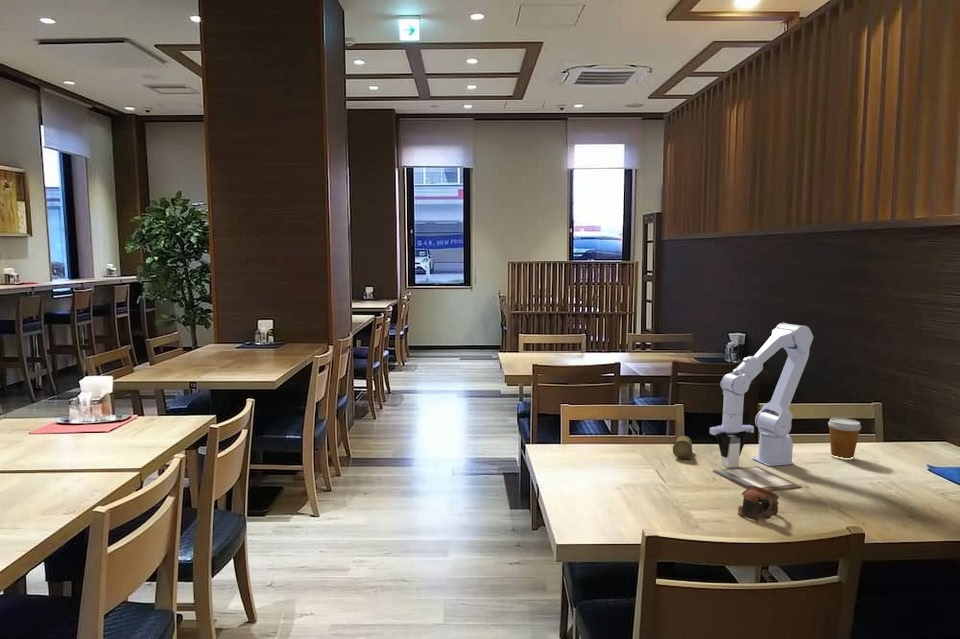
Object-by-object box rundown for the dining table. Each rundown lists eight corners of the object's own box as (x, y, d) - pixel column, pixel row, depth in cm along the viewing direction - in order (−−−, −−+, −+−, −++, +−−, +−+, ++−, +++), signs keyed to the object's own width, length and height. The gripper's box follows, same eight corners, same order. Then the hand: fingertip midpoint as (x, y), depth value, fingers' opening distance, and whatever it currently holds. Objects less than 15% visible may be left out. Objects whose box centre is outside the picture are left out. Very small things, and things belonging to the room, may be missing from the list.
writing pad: (757, 467, 202) (757, 464, 201) (801, 487, 184) (801, 484, 184) (712, 471, 197) (712, 468, 197) (753, 492, 180) (753, 489, 180)
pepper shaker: (689, 461, 208) (691, 453, 218) (694, 443, 207) (695, 436, 217) (670, 456, 210) (672, 448, 220) (675, 438, 209) (676, 431, 219)
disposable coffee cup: (865, 462, 209) (868, 425, 208) (835, 461, 210) (837, 424, 208) (848, 453, 219) (851, 417, 218) (820, 452, 219) (822, 417, 218)
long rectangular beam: (731, 463, 206) (732, 434, 205) (738, 466, 202) (740, 438, 201) (720, 463, 205) (722, 435, 204) (728, 467, 201) (730, 438, 200)
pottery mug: (727, 512, 167) (737, 481, 169) (758, 527, 168) (768, 496, 170) (756, 518, 155) (767, 485, 157) (789, 534, 157) (800, 501, 159)
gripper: (744, 408, 208) (741, 450, 209) (704, 410, 204) (702, 453, 205) (759, 414, 201) (756, 457, 202) (718, 416, 197) (716, 460, 198)
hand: (730, 456), depth 203 cm, fingers open, 4 cm apart
